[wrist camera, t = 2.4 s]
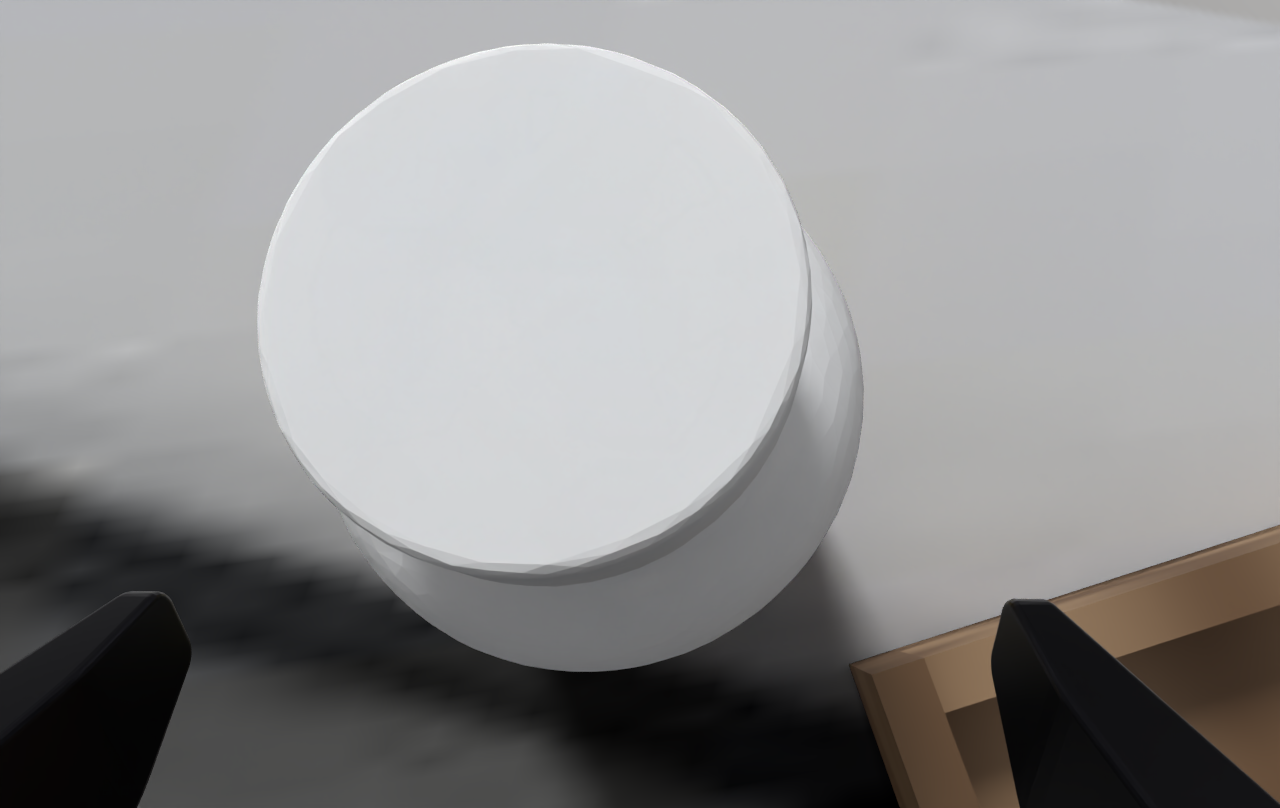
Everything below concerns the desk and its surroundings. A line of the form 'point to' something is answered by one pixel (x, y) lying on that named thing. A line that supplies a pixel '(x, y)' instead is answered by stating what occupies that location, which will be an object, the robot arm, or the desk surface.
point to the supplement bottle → (562, 356)
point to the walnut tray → (1131, 632)
